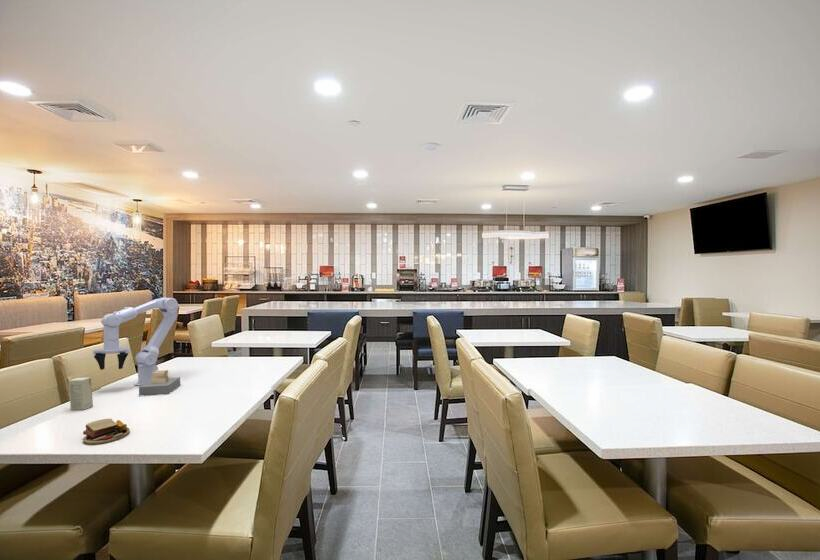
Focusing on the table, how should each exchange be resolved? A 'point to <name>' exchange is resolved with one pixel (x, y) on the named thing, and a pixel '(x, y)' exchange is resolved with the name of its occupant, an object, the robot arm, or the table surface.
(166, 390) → the flat grey base plate
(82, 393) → the skincare box
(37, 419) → the table surface
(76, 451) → the table surface
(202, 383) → the table surface
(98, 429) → the toy sandwich meal
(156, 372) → the birch cube
